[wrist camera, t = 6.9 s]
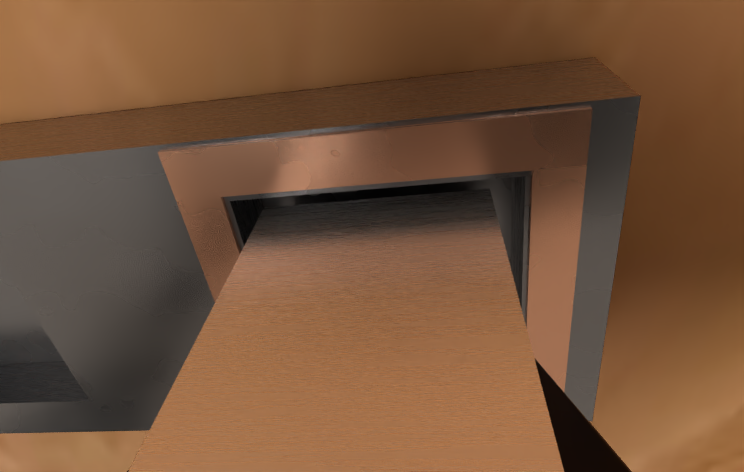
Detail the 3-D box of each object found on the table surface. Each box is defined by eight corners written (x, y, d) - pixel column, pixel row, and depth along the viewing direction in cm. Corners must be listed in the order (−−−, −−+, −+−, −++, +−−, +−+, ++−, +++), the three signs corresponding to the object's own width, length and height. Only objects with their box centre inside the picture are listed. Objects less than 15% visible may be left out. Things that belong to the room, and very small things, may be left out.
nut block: (307, 364, 13) (210, 771, 7) (264, 207, 10) (50, 621, 4) (491, 356, 12) (565, 797, 6) (489, 188, 10) (606, 638, 4)
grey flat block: (-52, 371, 17) (-120, 438, 15) (-232, 150, 13) (-365, 199, 11) (566, 346, 14) (593, 424, 12) (594, 57, 10) (643, 97, 8)
